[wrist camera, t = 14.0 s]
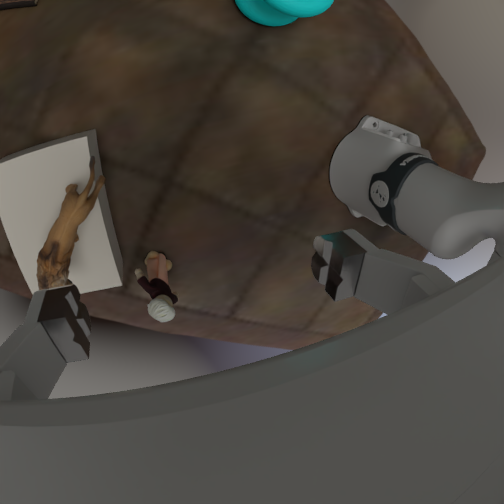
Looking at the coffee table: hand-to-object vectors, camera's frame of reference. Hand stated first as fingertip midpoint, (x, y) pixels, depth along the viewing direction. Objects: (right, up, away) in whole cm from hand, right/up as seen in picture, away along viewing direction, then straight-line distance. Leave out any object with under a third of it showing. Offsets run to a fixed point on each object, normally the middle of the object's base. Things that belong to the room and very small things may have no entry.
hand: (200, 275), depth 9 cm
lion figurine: (-19, +5, +21) cm, 29 cm away
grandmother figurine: (-13, 0, +34) cm, 37 cm away
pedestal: (-24, +6, +25) cm, 35 cm away
